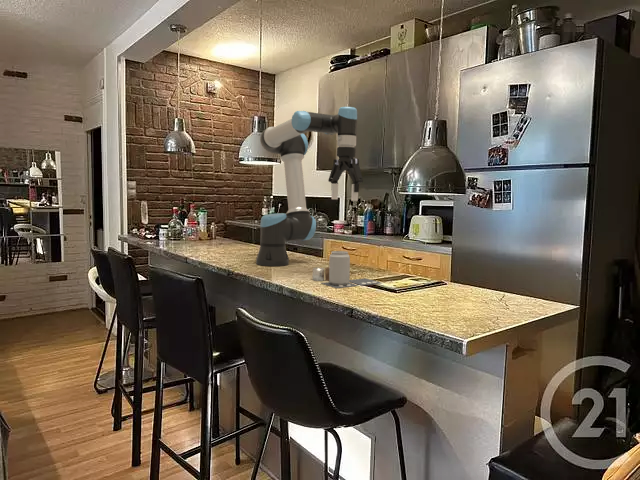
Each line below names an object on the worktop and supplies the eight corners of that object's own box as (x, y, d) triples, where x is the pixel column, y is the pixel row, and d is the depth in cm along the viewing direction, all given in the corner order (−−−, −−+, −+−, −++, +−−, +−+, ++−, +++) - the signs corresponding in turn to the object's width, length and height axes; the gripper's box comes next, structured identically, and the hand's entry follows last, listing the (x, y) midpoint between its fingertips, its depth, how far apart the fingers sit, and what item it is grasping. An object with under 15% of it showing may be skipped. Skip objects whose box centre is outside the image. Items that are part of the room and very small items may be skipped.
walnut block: (325, 281, 181) (325, 268, 181) (330, 279, 185) (329, 266, 185) (337, 281, 179) (337, 268, 179) (342, 279, 183) (341, 267, 183)
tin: (310, 280, 182) (310, 267, 182) (319, 279, 185) (320, 267, 184) (316, 282, 179) (316, 269, 178) (326, 281, 181) (326, 268, 181)
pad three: (345, 281, 182) (345, 279, 181) (365, 279, 187) (365, 277, 187) (361, 286, 173) (361, 284, 173) (382, 284, 179) (382, 282, 179)
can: (349, 282, 177) (350, 250, 176) (348, 285, 170) (349, 252, 169) (329, 281, 178) (330, 250, 177) (328, 285, 171) (328, 252, 170)
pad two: (320, 284, 175) (320, 282, 175) (342, 282, 181) (342, 280, 181) (336, 289, 167) (336, 287, 167) (358, 287, 173) (358, 284, 172)
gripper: (321, 147, 198) (319, 198, 200) (358, 144, 177) (355, 201, 179) (336, 149, 202) (334, 198, 204) (373, 146, 181) (371, 201, 183)
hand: (344, 200), depth 192 cm, fingers open, 13 cm apart
